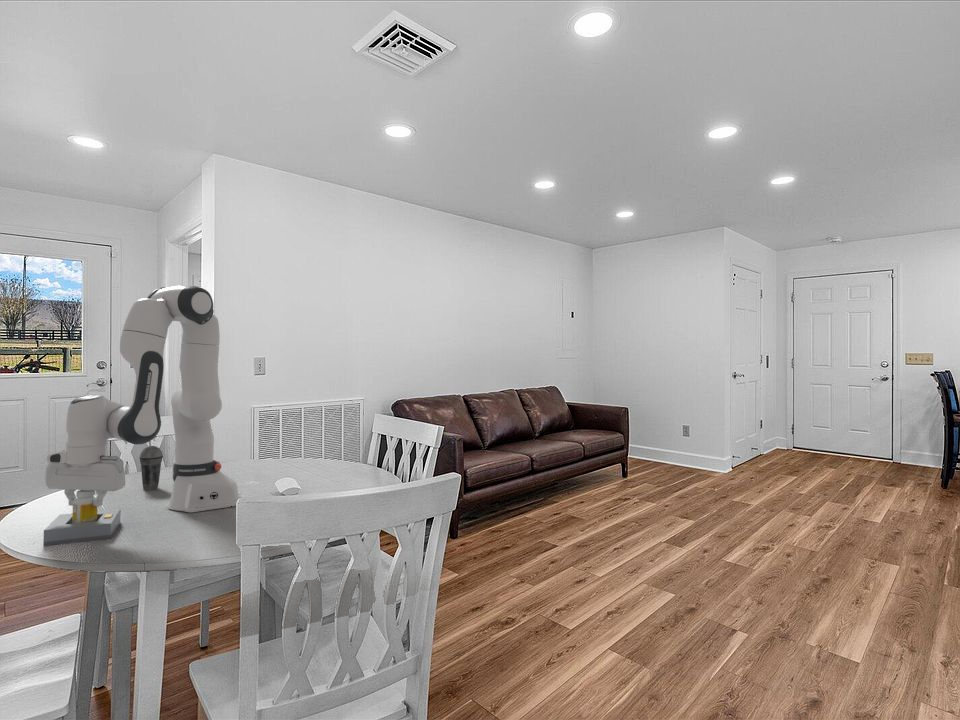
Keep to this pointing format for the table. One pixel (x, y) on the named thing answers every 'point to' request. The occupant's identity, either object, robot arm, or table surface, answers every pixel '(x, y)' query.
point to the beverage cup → (150, 466)
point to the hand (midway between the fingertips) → (85, 505)
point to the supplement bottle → (84, 507)
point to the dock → (82, 528)
